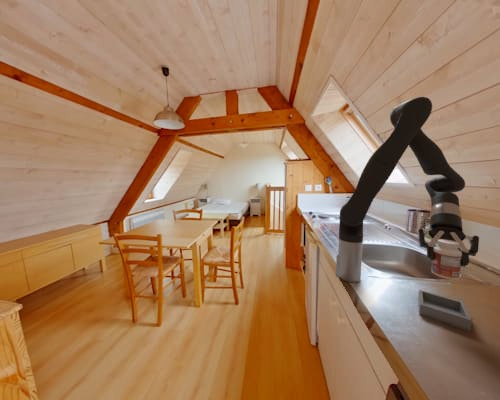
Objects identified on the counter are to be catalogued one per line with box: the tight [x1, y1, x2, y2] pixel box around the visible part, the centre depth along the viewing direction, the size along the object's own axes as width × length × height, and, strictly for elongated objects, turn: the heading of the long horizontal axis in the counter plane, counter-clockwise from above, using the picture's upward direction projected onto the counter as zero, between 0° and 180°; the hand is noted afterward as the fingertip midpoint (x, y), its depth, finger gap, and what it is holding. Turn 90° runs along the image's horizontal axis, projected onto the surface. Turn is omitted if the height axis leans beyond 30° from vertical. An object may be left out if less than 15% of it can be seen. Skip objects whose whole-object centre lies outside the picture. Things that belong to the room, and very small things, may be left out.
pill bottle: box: [430, 239, 462, 280], centre depth 58 cm, size 6×6×11 cm
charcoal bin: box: [417, 289, 472, 333], centre depth 59 cm, size 11×11×4 cm
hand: (447, 262), depth 56 cm, fingers closed on pill bottle, 6 cm apart
